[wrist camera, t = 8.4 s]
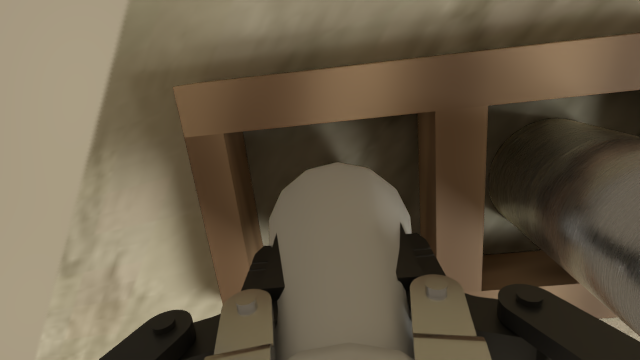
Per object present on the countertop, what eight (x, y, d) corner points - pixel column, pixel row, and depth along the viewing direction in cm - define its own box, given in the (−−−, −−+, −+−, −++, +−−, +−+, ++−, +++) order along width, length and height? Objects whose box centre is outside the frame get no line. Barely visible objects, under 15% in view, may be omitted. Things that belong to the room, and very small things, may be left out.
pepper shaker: (612, 112, 17) (989, 179, 7) (597, 221, 18) (884, 392, 9) (490, 125, 17) (695, 204, 7) (485, 231, 19) (647, 405, 9)
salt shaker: (417, 233, 17) (636, 655, 5) (313, 279, 18) (281, 728, 6) (365, 127, 16) (498, 358, 3) (254, 183, 17) (48, 522, 4)
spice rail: (697, 25, 15) (780, 17, 13) (647, 274, 19) (702, 311, 16) (199, 82, 17) (172, 86, 14) (245, 305, 20) (232, 344, 18)
